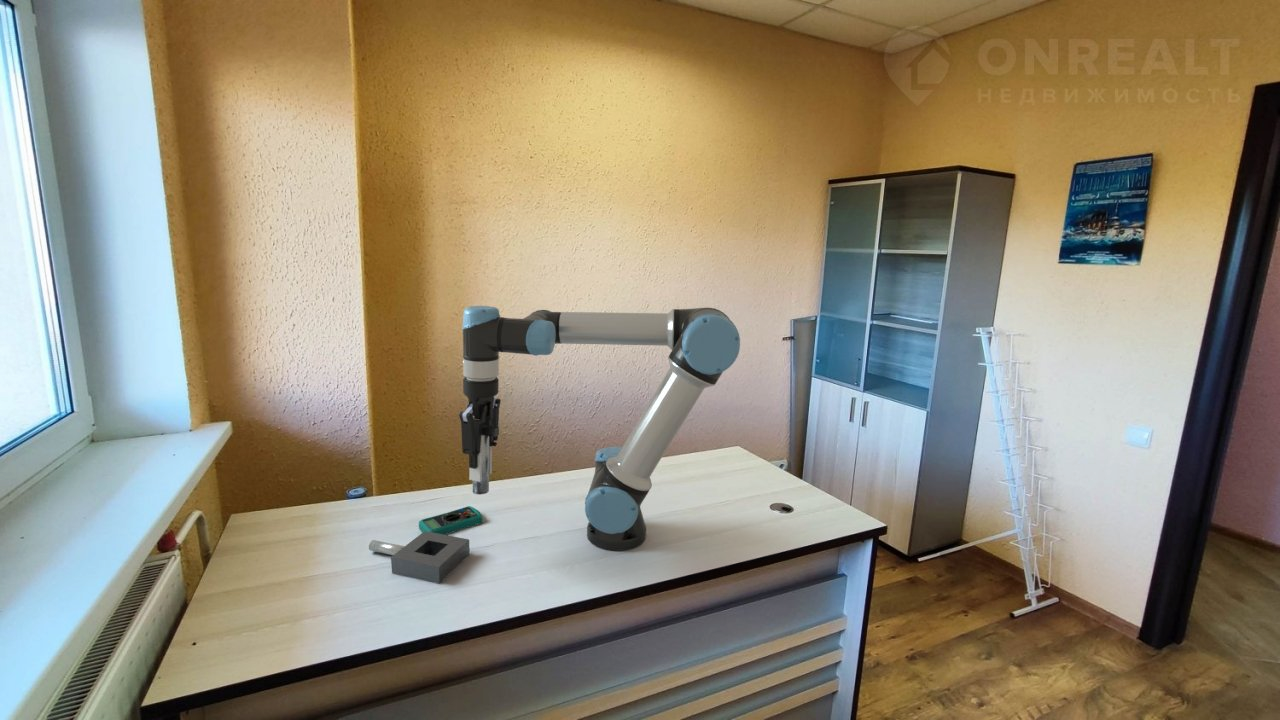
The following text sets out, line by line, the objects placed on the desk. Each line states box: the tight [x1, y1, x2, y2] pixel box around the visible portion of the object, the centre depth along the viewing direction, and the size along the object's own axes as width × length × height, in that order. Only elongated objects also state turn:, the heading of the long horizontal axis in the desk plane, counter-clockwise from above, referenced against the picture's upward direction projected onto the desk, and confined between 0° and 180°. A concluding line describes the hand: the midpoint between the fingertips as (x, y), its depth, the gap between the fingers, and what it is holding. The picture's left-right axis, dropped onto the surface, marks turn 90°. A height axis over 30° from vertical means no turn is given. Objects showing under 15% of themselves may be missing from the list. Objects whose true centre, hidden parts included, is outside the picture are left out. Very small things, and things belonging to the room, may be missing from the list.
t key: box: [472, 424, 500, 495], centre depth 129 cm, size 8×4×16 cm, turn 74°
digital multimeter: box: [418, 505, 483, 535], centre depth 148 cm, size 7×15×3 cm, turn 131°
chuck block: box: [368, 531, 471, 584], centre depth 131 cm, size 22×12×4 cm, turn 75°
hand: (480, 476), depth 130 cm, fingers closed on t key, 4 cm apart
